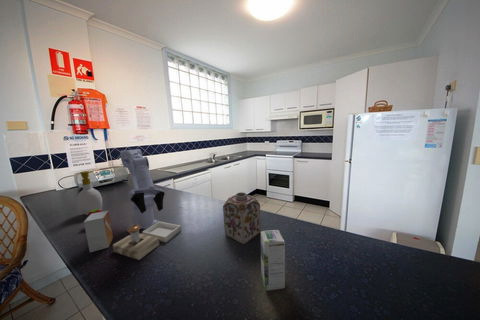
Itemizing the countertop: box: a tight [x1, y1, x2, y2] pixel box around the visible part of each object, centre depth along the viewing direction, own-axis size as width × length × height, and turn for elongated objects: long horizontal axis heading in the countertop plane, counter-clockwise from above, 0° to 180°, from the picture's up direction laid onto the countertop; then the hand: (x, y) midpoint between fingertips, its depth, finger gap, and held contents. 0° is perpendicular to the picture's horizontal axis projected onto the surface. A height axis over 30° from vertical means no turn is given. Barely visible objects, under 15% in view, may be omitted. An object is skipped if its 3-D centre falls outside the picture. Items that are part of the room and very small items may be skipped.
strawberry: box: [87, 207, 104, 218], centre depth 88 cm, size 6×8×10 cm
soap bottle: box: [76, 170, 103, 216], centre depth 101 cm, size 14×9×26 cm, turn 79°
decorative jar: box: [222, 191, 262, 245], centre depth 73 cm, size 12×12×18 cm
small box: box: [83, 210, 114, 253], centre depth 70 cm, size 8×6×13 cm
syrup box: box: [260, 229, 286, 292], centre depth 48 cm, size 6×6×14 cm
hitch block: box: [112, 232, 160, 261], centre depth 68 cm, size 14×9×3 cm, turn 68°
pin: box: [126, 224, 142, 246], centre depth 67 cm, size 4×4×9 cm
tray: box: [141, 220, 182, 243], centre depth 77 cm, size 13×9×2 cm
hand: (152, 210), depth 68 cm, fingers open, 7 cm apart
